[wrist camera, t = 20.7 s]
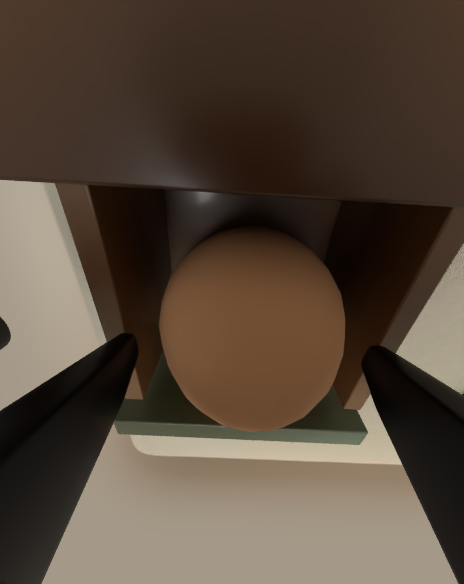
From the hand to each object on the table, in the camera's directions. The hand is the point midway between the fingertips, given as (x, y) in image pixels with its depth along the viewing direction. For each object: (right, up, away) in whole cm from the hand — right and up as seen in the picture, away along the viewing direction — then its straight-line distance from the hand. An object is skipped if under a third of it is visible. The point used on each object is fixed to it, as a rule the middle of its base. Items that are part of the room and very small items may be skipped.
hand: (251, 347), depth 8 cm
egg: (0, +3, +5) cm, 6 cm away
